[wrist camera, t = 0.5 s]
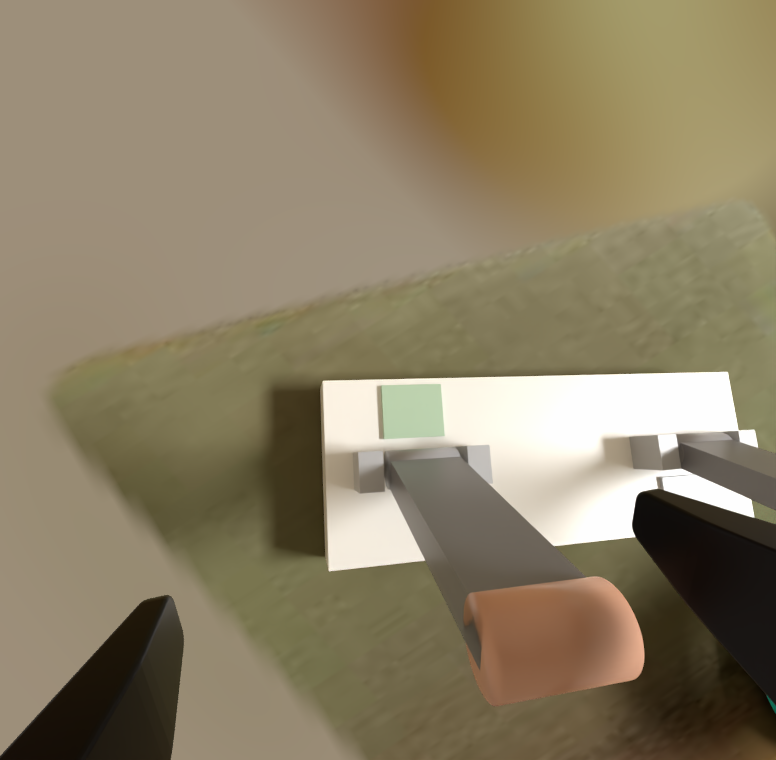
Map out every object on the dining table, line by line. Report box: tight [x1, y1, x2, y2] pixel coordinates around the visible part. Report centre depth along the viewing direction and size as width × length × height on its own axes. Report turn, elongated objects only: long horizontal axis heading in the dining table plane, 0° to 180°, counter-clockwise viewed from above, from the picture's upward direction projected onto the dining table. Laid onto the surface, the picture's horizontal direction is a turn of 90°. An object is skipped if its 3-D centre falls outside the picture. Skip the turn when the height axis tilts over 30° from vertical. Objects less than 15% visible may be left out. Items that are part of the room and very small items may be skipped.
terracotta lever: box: [384, 447, 644, 706], centre depth 14 cm, size 2×3×11 cm, turn 93°
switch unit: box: [320, 372, 758, 571], centre depth 21 cm, size 8×22×4 cm, turn 93°
